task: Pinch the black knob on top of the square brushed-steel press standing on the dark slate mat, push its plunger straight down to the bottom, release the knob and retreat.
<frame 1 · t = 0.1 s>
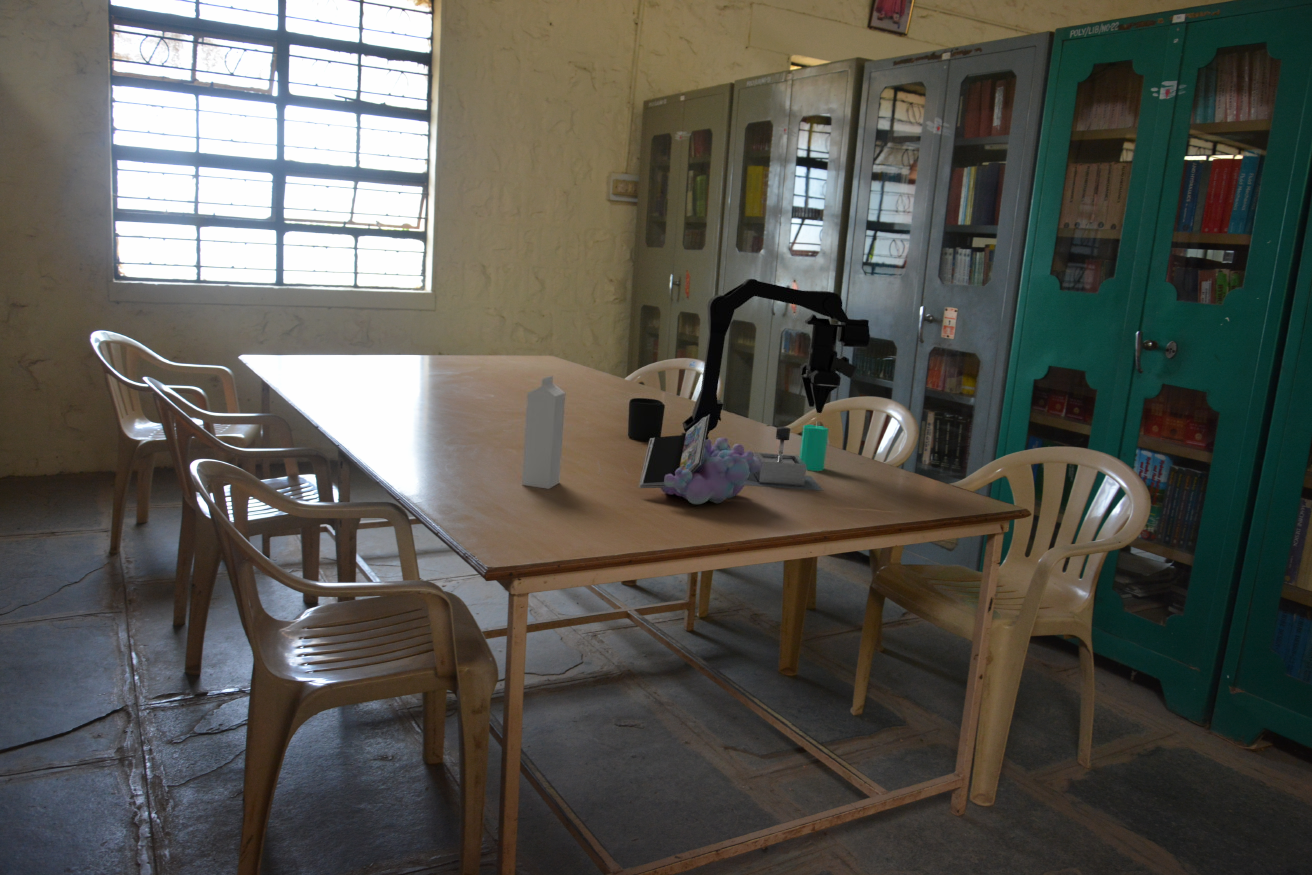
hand: (815, 409, 227), 15 cm above the table, fingers open, 9 cm apart
milk: (540, 484, 193), on the table
plunger: (781, 446, 212), point 8 cm above the table, slide at 0.0 cm
slate mat: (777, 481, 213), on the table
pen holder: (644, 439, 250), on the table
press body: (777, 480, 213), resting on slate mat
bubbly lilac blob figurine: (697, 500, 192), on the table
candle: (810, 469, 230), on the table
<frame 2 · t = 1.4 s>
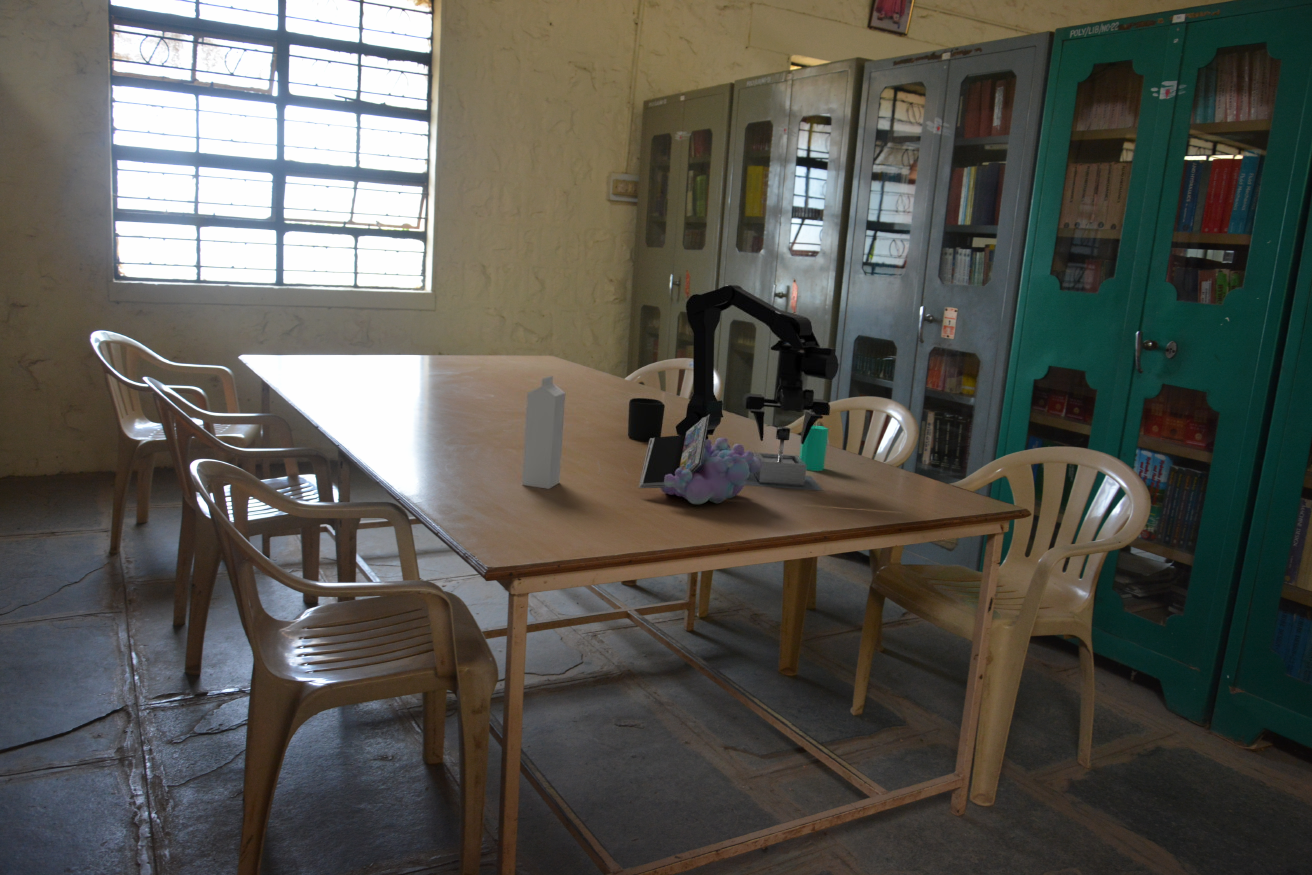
hand: (781, 442, 212), 9 cm above the table, fingers open, 9 cm apart
nothing on the table moved.
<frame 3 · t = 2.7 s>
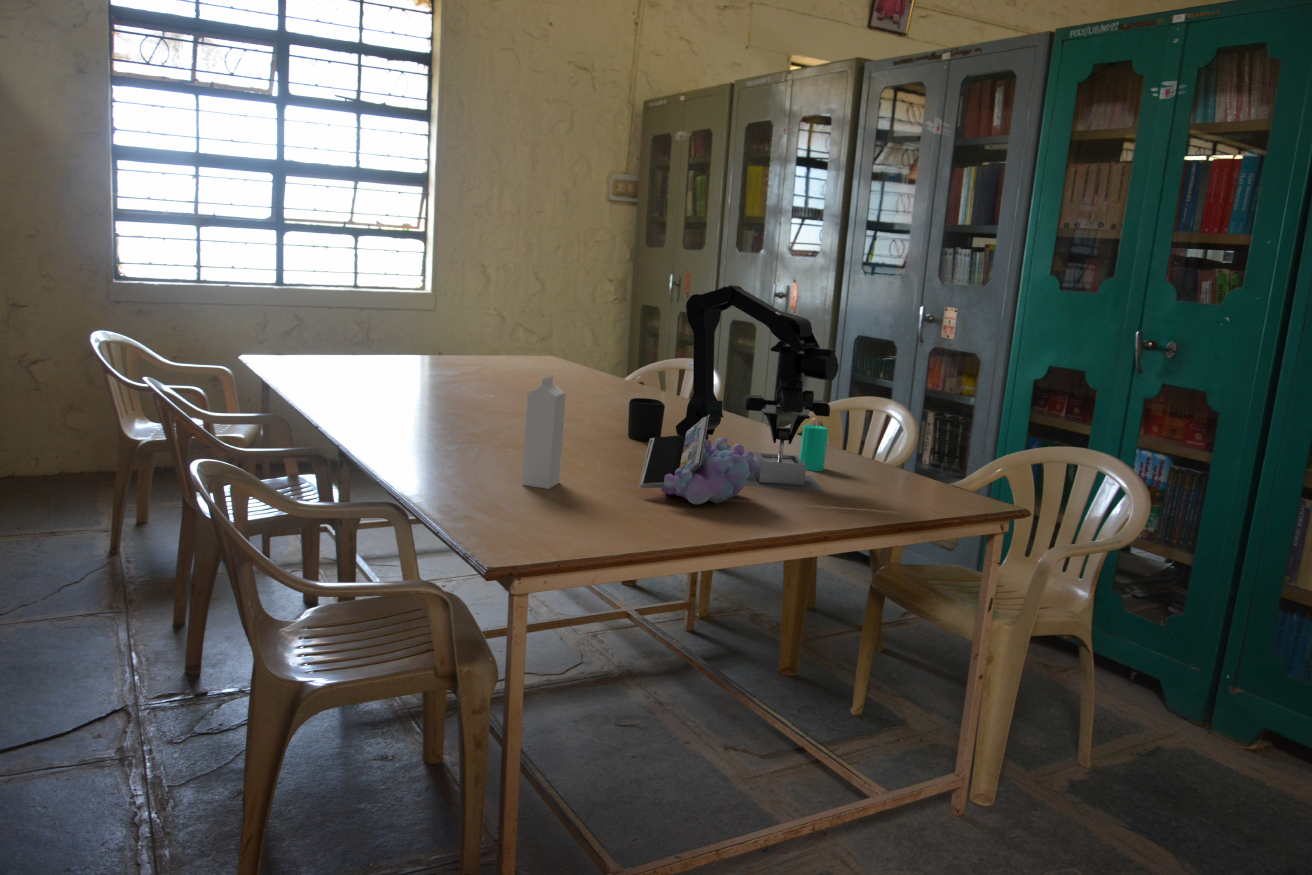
hand: (781, 443, 212), 9 cm above the table, fingers closed on plunger, 3 cm apart
plunger: (781, 446, 212), point 8 cm above the table, slide at 0.0 cm, touching gripper
everything else where it was.
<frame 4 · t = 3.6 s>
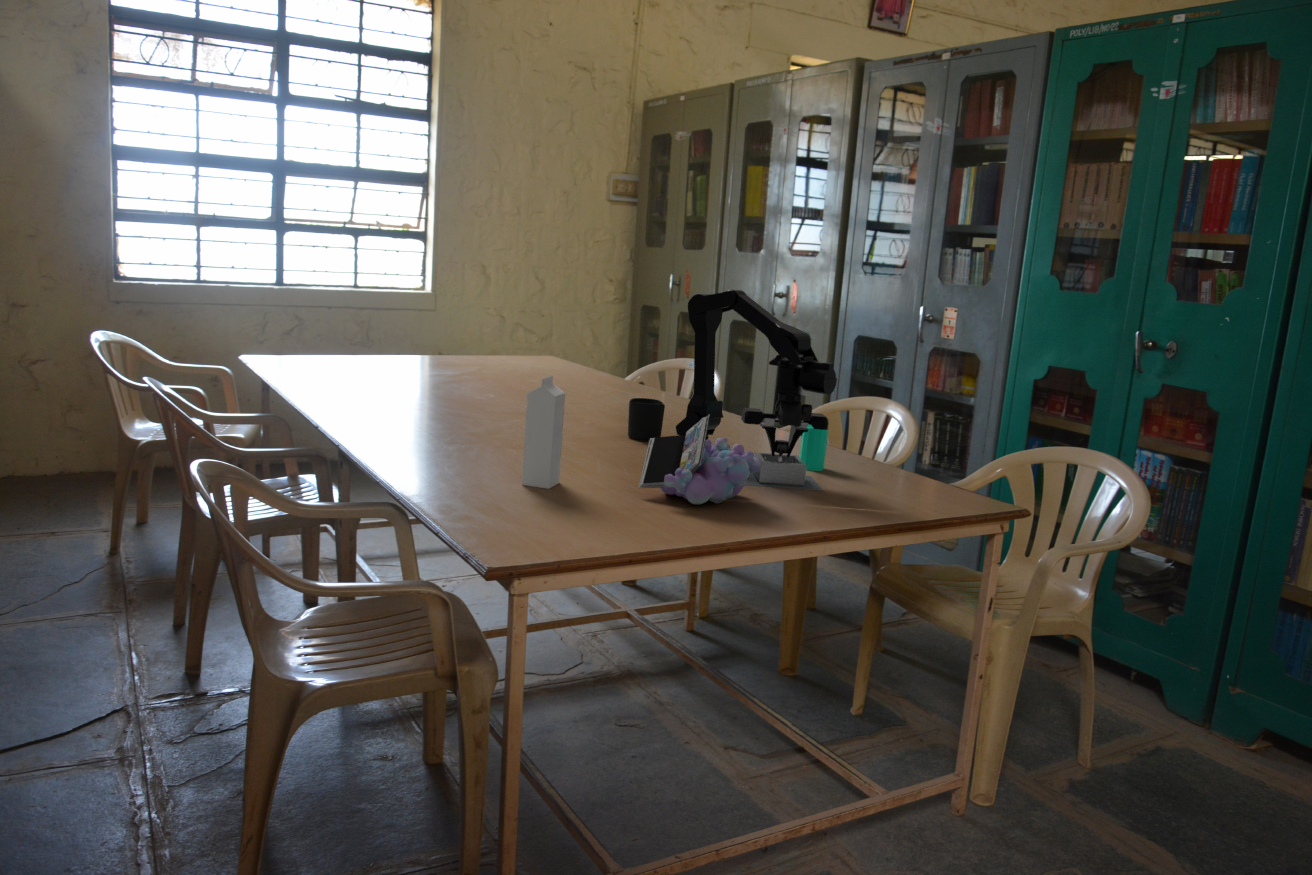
hand: (780, 456, 212), 6 cm above the table, fingers closed on plunger, 3 cm apart
plunger: (780, 459, 212), point 5 cm above the table, slide at 3.0 cm, touching gripper
everything else where it was.
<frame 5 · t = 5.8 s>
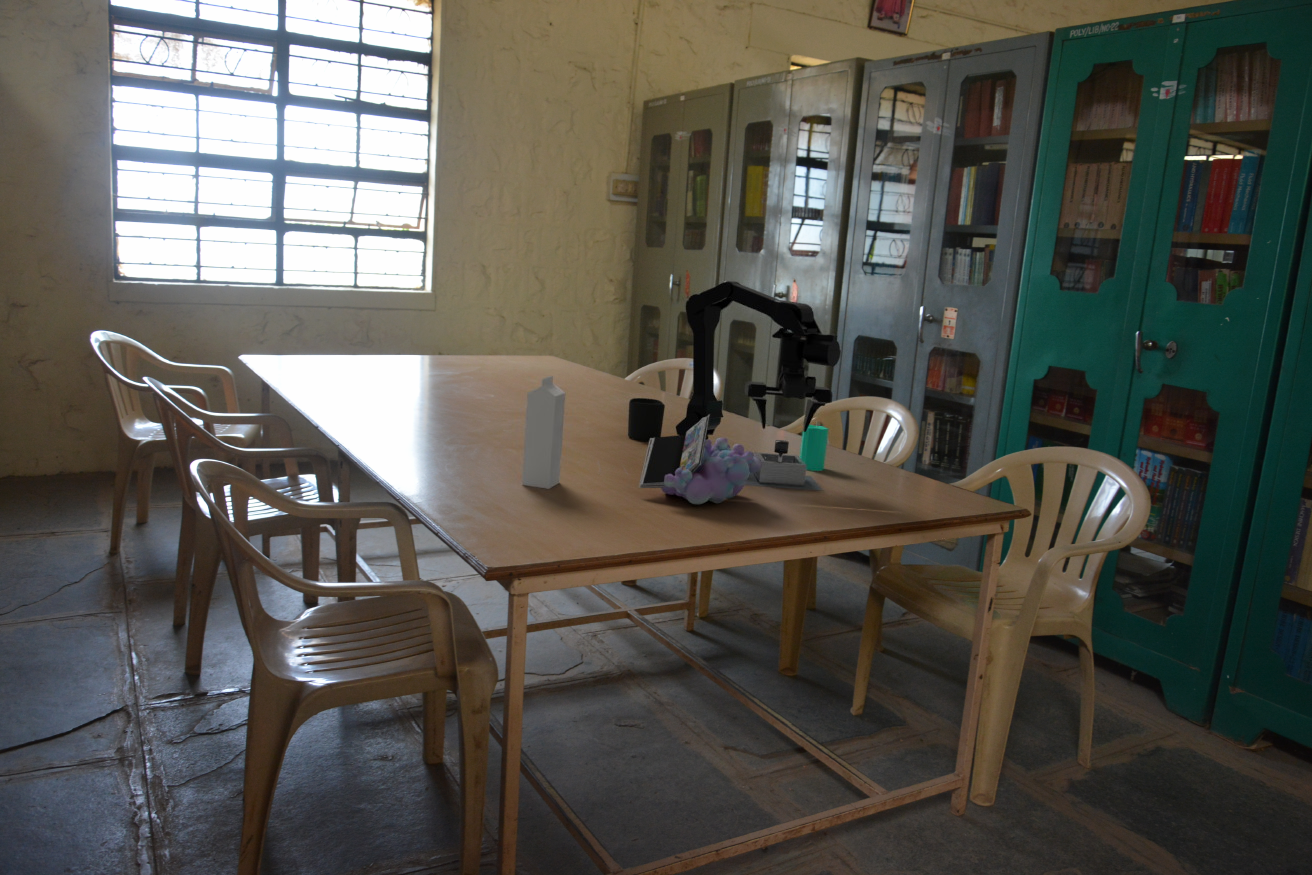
hand: (784, 430, 211), 12 cm above the table, fingers open, 9 cm apart
plunger: (780, 459, 212), point 5 cm above the table, slide at 3.1 cm
everything else where it was.
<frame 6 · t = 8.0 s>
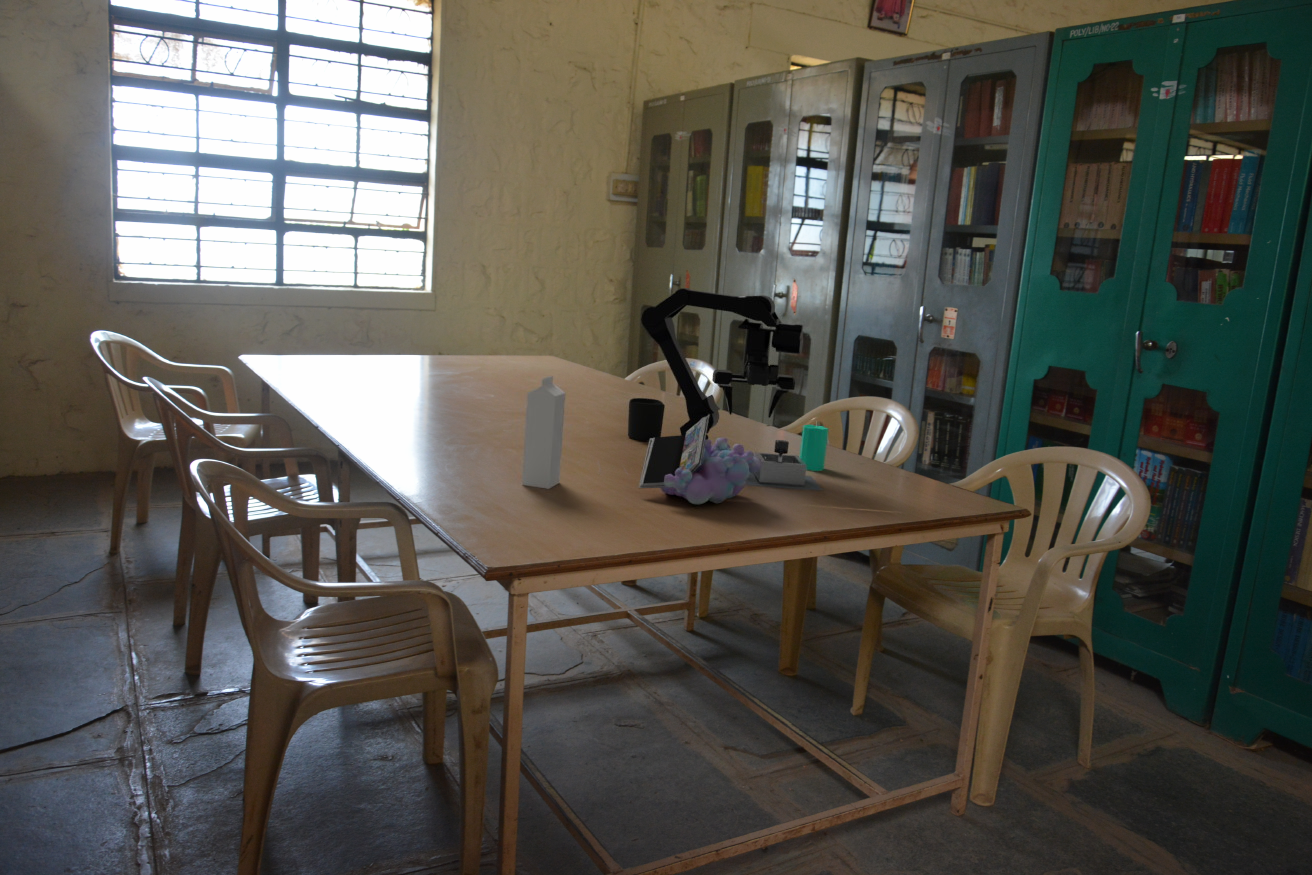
hand: (749, 415, 222), 13 cm above the table, fingers open, 9 cm apart
nothing on the table moved.
at the end: plunger slide at 3.1 cm; the gripper is holding nothing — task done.
